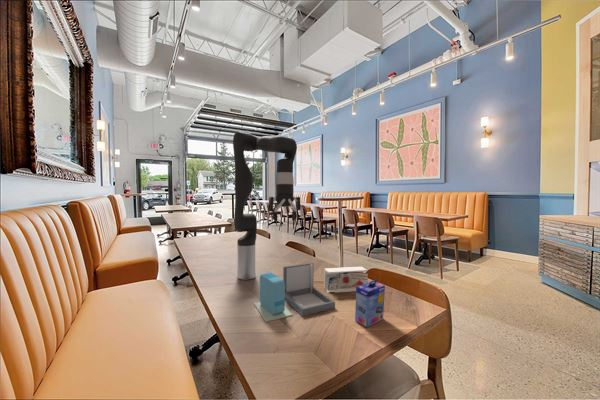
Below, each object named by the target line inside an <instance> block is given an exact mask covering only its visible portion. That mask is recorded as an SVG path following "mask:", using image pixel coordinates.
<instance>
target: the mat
mask: <svg viewBox="0 0 600 400" xmlns="http://www.w3.org/2000/svg"><path fill="white" fill-rule="evenodd" d="M253 305H254V306H255V308H256V310H257V311H258V313H259V315H261V317H262V318H263V320H264V321H265V322H267V323H268V322H270V321H275V320H279V319H284V318H288V317H292V316H293V314H292V312H291V311H290V310H289V309H288V307H286V306H285V310H284V312H282V313H278V314H275V315H272V314H271V313H270V312H269V311H267V310H266V309H265V308H264V307H263V306H262V305H261V303H260V301H256V302H254V303H253Z"/></svg>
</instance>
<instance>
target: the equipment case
mask: <svg viewBox="0 0 600 400" xmlns="http://www.w3.org/2000/svg"><path fill="white" fill-rule="evenodd" d="M314 266H315V265H314V262H308V263H301V264H294V265H287V266H285V265H284V266H283V267H282V268H283V271H282V273H283V277H282V279H283V280H284V283H285V301H287V302H288V303H289V305H291V307H292V308H294V310H296V312H297V313H298V314H300V315H301V317H304V316H308V315H309V316H310V315H313V314H317V313H321V312H325V311H330V310H334V309H336V302H335V301H334V299H332V298H330V297H329V296H327V295H326V294H324V293H323V292H321V291H320V290H319V289H317V288H316V287H314Z"/></svg>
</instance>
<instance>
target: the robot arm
mask: <svg viewBox="0 0 600 400" xmlns="http://www.w3.org/2000/svg"><path fill="white" fill-rule="evenodd" d="M232 148H233V156H234V157H233V159H234V193H235V195H234V201H235V203H234V219H233V226H234V230H235V231H236V232H237V233H245V232H246V233H245V234H244V235H243V236H241V237H239V238H238V239H237V246H236V247H237V248H236V249H237V251H236V252H237V257H236V259H237V263H236V264H237V269H236V271H237V273H236V274H237V276H236V277H237V279H239V280H246V281H247V280H252V279H254V278H256V241H257V229H258V219H257V217H256V214H254V213H244V210H245V206H246V202H247V201H248V199H249V198H250V196H251V194H252V191H253V189H254V175H253V173H252V171H251V169H250V167H249V165H248V164H247V161H246V158H245V154H244V153H245V152H254V151H263V152H268V153H279V154H284V155H283V158H280V159H277V161H276V177H275V178H276V181H275V185H276V186H275V187H276V188H275V189H276V191H275V194H276V195H275V196H269V197H268V207H267V208H268V209H267V210H268V211H269V212H272V220H273V221H274V222H278V210H279V209H280V208H282V207H283V208H285V207H289V208H290V210H291V220H292V221H295V220H297V213H298V211H301V208H302V207H301V197H300V196H294V190H295V189H294V183H295V182H294V179H295V178H294V161H295V159H296V158H295V157H296V155H297V148H298V145H297V141H296V139H294V138H291V137H286V136H284V135H283V136H282V135H276V136H275V135H274V136H272V135H271V136H268V135H265V136H261V137H260V136H256V135H253V134H252V133H249V132H244V131H243V132H242V131H236V132H235V133H234V134H233V138H232ZM274 202H276V204H274ZM293 202H295V204H294V203H293ZM274 205H275V206H274Z"/></svg>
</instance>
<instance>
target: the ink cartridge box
mask: <svg viewBox="0 0 600 400" xmlns="http://www.w3.org/2000/svg"><path fill="white" fill-rule="evenodd" d="M377 281H378V279H377V278H376V279H374V280H372V281H368V283H366V284H362V285H360V286H357V287H356V291H355V315H354V317H355V318H354V321H355V322H357V323H359V324H360V325H362V326H363V327H366V328H368V327H371V326H372V325H374V324H376V323H378V322H381V321H382V320H383V319H384V311H385V291H386V290H385V289H386V285H385V284H382V283H380V282H377Z"/></svg>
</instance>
